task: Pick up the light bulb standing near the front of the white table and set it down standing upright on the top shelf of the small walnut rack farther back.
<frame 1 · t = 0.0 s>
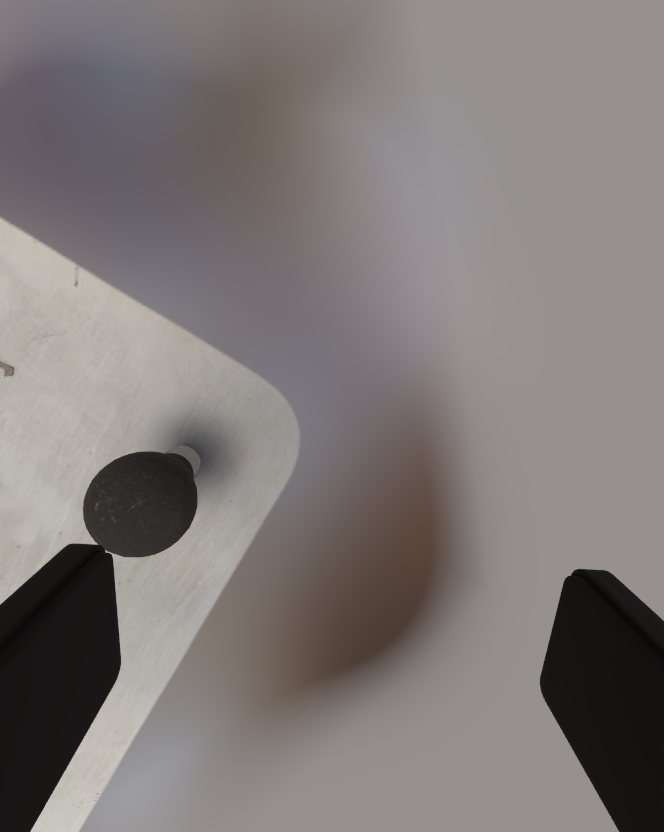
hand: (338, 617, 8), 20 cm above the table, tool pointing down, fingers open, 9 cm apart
light bulb: (188, 456, 29), on the table
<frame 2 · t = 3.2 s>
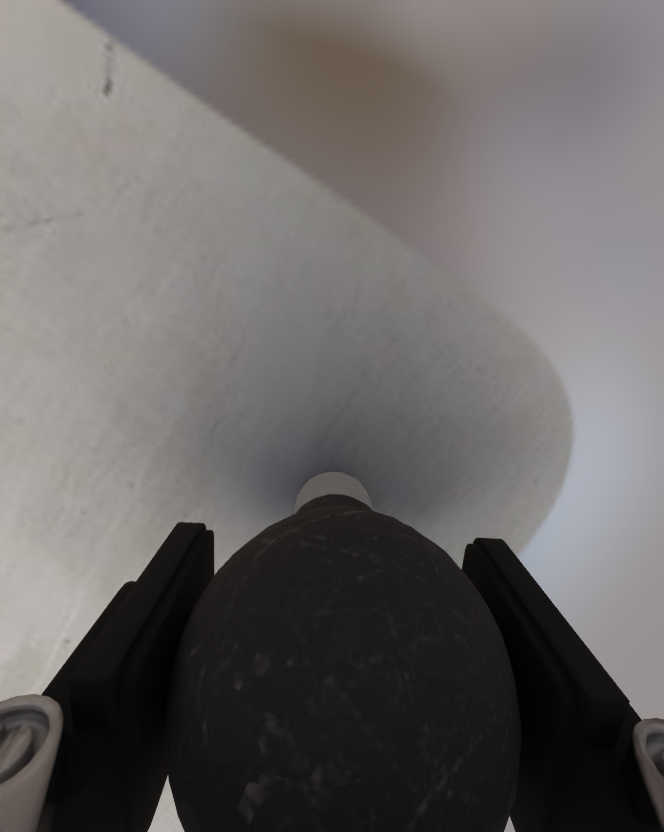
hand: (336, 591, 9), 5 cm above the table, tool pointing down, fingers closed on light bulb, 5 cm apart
light bulb: (332, 492, 14), on the table, touching gripper
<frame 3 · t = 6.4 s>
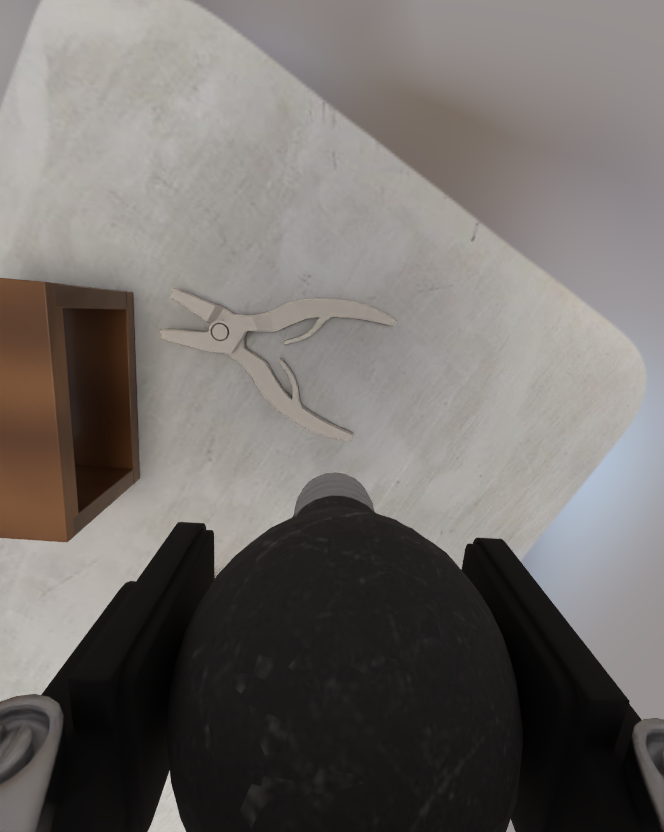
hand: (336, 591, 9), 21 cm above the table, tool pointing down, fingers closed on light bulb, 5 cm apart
light bulb: (333, 493, 14), point 16 cm above the table, touching gripper
pliers: (275, 347, 29), on the table
shelf: (81, 386, 29), on the table
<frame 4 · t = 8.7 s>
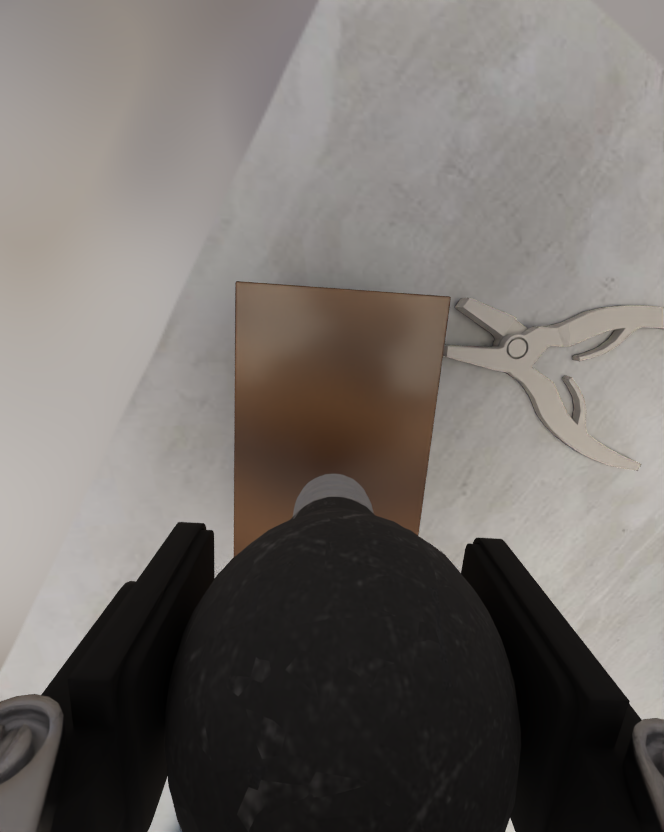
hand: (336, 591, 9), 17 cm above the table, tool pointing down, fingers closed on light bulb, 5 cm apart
light bulb: (332, 494, 14), point 12 cm above the table, touching gripper
pliers: (557, 364, 25), on the table
shelf: (329, 413, 25), on the table
when the fingers open (14 cm above the table, at t = 10.0 s): light bulb stays where it is, resting on shelf.
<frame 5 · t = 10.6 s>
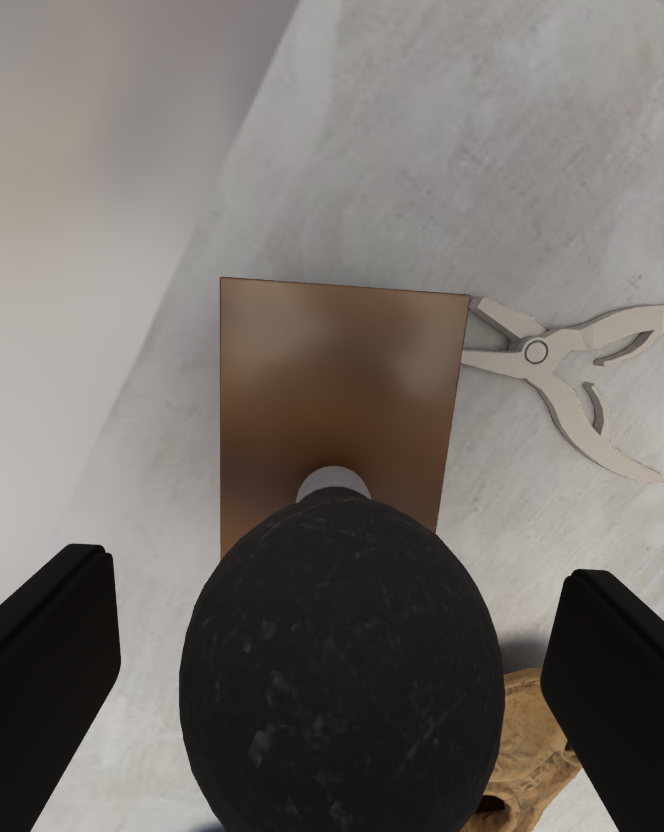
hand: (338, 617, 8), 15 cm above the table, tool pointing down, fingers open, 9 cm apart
oil lamp: (463, 699, 28), on the table
light bulb: (333, 486, 14), point 9 cm above the table, touching shelf
pliers: (578, 369, 23), on the table
shelf: (329, 422, 23), on the table
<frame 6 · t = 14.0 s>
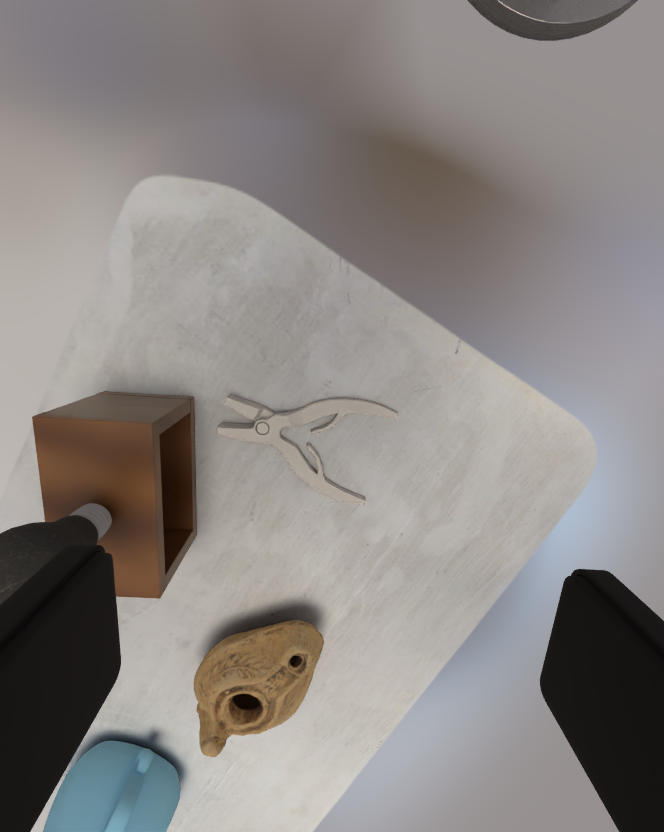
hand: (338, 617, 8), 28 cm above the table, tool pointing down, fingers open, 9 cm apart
teapot: (126, 777, 47), on the table
oil lamp: (264, 644, 43), on the table
light bulb: (102, 511, 29), point 9 cm above the table, touching shelf
pliers: (303, 434, 37), on the table
shelf: (152, 466, 37), on the table
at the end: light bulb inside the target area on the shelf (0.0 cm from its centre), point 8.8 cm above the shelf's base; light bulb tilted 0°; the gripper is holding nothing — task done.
